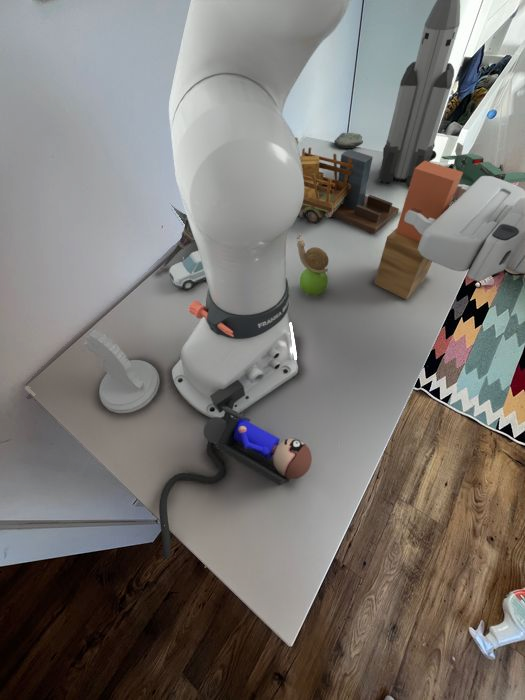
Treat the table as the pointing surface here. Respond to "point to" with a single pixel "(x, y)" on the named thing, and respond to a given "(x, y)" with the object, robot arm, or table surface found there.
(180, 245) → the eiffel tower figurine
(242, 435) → the character figurine
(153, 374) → the white curved piece
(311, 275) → the snail figurine
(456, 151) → the toy airplane
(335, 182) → the toy truck
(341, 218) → the pad mount
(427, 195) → the back pad
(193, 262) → the toy car
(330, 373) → the table surface
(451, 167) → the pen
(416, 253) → the block
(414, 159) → the toy rocket
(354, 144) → the stone
